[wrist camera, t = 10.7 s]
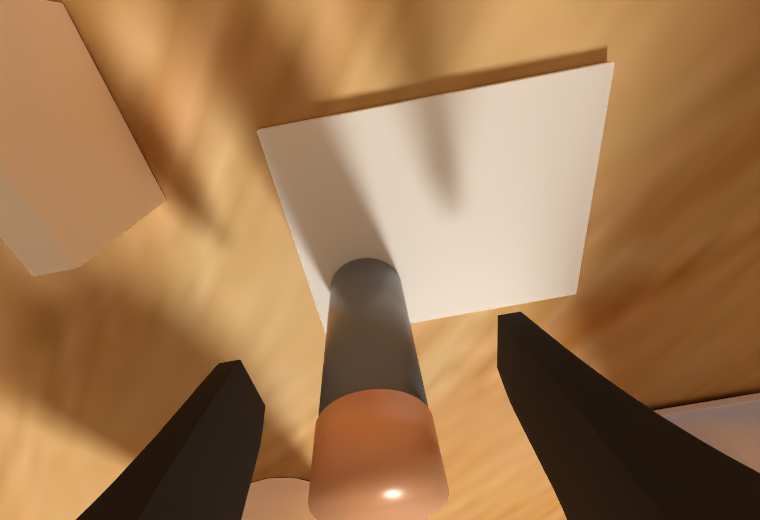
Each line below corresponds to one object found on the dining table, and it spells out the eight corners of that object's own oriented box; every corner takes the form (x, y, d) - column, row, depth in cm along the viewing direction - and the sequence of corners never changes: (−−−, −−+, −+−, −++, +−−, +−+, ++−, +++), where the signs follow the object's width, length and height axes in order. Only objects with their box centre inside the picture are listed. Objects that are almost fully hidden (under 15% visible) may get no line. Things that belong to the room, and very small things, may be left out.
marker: (397, 250, 12) (445, 451, 6) (406, 310, 13) (451, 521, 7) (321, 264, 12) (290, 475, 6) (338, 321, 13) (326, 541, 7)
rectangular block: (22, 11, 8) (-222, -22, 5) (62, 3, 8) (-152, -36, 5) (135, 206, 11) (32, 276, 7) (166, 200, 11) (78, 268, 7)
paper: (607, 61, 10) (615, 61, 9) (572, 289, 14) (576, 294, 13) (258, 129, 10) (256, 131, 10) (327, 332, 14) (326, 337, 14)
